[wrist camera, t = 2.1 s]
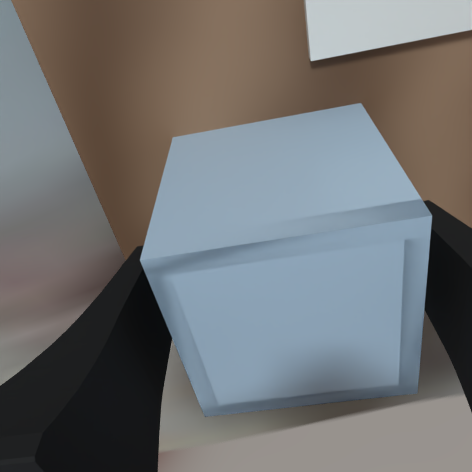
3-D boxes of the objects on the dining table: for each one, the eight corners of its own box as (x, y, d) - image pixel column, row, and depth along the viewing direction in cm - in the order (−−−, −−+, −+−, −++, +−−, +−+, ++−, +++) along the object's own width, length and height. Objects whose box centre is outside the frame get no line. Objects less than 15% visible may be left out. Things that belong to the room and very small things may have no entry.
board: (949, -758, 7) (1049, -851, 6) (586, 262, 18) (602, 278, 18) (-134, -385, 9) (-171, -415, 8) (162, 319, 20) (159, 337, 20)
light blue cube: (360, 103, 13) (432, 215, 9) (365, 252, 17) (417, 393, 12) (172, 137, 14) (139, 260, 9) (213, 274, 17) (204, 416, 13)
